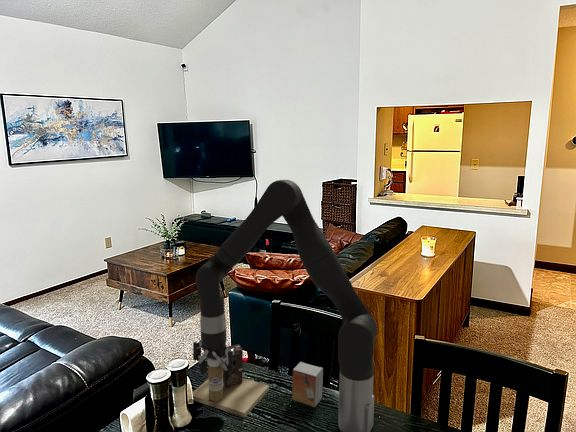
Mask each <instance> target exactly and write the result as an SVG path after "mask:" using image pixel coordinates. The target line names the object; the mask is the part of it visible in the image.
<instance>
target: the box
mask: <svg viewBox="0 0 576 432" xmlns="http://www.w3.org/2000/svg"><path fill="white" fill-rule="evenodd" d="M226 347H227V348H229V349H232V348H235V349H236V360H237V366H236V367H235V368H234V369H232V370H231V378H230V379H229V380H228V381H224V368H223V367H222V371H223V384H224V385H225V387H227V386H231V385H235V384H239V383H242V378H243V364H244V363H243V360H244V359H243V358H244V357H243V355H244V354H243V353H244V350H243V347H241V345H240V344H239V343H238V344H233V345H228V346H226ZM226 354H227V353H226ZM223 359H224V357H223ZM225 363H226V362H225ZM226 365H227V364H226Z"/></svg>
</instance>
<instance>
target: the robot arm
mask: <svg viewBox="0 0 576 432" xmlns="http://www.w3.org/2000/svg"><path fill="white" fill-rule="evenodd" d="M281 217H282V218H283V219H284V221H285V222H286V223H287V225H288V228H289V229H290V230H291V234H292V236H293V239H294V243H295V247H296V250H297V254H298V257H299V258H300V261H301V264H302V265H303V267H304V269H305V272H306V273H307V274H308V277H309V278H310V280H311V281H312V283H313V284H314V286H315V287H317V288H318V289H319V290H320V291H321V292H322V293H323V294H324V295H326V296H327V297H328V298H329V299H330V300H331V302H332V303H333V304H334V306H335V308H336V310H337V311H338V312H339V315H340V317H341V319H342V322H343V324H342V325H341V327H340V328H339V331H338V338H337V339H338V340H337V346H338V347H337V361H338V365H339V383H338V384H339V385H338V390H339V391H338V412H337V413H338V414H337V415H338V418H337V420H338V422H337V427H338V429H339V431H340V432H371V431H372V428H373V427H374V416H375V415H374V414H375V413H374V411H375V395H374V376H375V375H374V374H375V373H374V372H375V364H374V362H373V352H374V350H373V349H374V342H375V340H376V337H377V334H378V325H377V322H376V320H375V317H374V316H373V315H372V313H371V312H370V311H369V309H368V308H367V306H366V305H365V304H364V302H363V300H362V299H361V297H359V295H358V293H357V292H356V290H355V288H354V286H353V284H352V283H351V280H350V278H349V276H348V274H347V273H346V271H345V270H344V268H343V267H344V266H342V264H341V261H340V260H339V258H338V255H337V254H336V253H335V250H334V249H333V247H332V246H331V244H330V242H329V240H327V237H326V235H324V234H325V233H324V232H323V231H322V230H321V228H320V226H319V224H318V223H317V222H316V220H315V219H314V217H313V215H312V212H311V210H310V208H309V206H308V203H307V201H306V199H305V197H304V194H303V191H302V189H301V187H300V185H298V184H297V183H296V182H295V181H293V180H290V179H280V180H275V181H273V182H271V183H269V185H268V186H267V187H266V189H265V191H264V192H263V194H262V195H261V197H260V198H259V200H258V202H257V203H256V204H255V206H254V207H253V208H252V210H251V212H250V213H249V214H248V216H247V217H246V218H245V219H244V220H243V221H242V222H241V223H240V225H239V226H237V228H236V229H235V230H234V231H233V232H232V233H231V234H230V235H229V236H228V237H227V239H226V240H224V242H223V243H222V244H221V245H220V246H219V247H218V249H217V251H216V252H215V253H214V254H213V256H211V257H210V258H209V259H208V260H207V261H206V262H204V264H203V265H201V266H200V268H198V270H197V271H196V274H195V286H196V291H197V294H198V299H199V304H200V305H199V306H200V308H199V310H200V319H199V321H200V322H199V325H200V339H199V338H198V339H197V340H196V341H194V342H193V343H192V344H193V345H192V346H193V347H192V351H193V353H192V360H194V361H197V362H198V363H199V372H200V375H203V376H204V375H205V374H206V373H208V364H207V359H208V358H211V359H214V360H217V361H218V362H219V364H220V365H222V367H223V368H224V381H228V380H229V379H230V378H231V370H232V369H234V368H235V367H236V366H237V360H236V349H235V348H232V349H229V348H227V347H228V346H227V320H226V313H225V298H224V295H223V293H222V292H221V291H220V284H221V282H222V281H223V280H224V279H225V278H226V276H227V275H228V274H229V273H230V272H231V270H232V269H233V268H234V267H235V266H237V264H239V263H240V262H241V260H243V259H244V257H246V255H247V254H248V253H249V252H250V251H252V249H253V247H254V246H255V245H256V243H257V242H258V241H259V239H260V238H261V236H262V235H263V233H265V231H266V230H267V229H268V228H270V226H271V225H272V224H274V223H275V222H276V221H278V219H280V218H281ZM202 350H203V353H202ZM226 353H227V354H226ZM222 357H224V359H223V360H222V359H221V358H222ZM225 362H226V363H225ZM226 364H227V365H226Z"/></svg>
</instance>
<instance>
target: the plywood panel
mask: <svg viewBox="0 0 576 432" xmlns="http://www.w3.org/2000/svg"><path fill="white" fill-rule="evenodd" d="M269 391H270V385H267V384H264V383H261V382H258V381H254V380H251V379H247V378H243V377H242V383H239V384H235V385H231V386H227V387H225V385H224V384H223V398H222V399H221V400H219V401H212V400H210V399H209V381H208V379H206V380H205V381H204V382H203V383H201V385H199V386H198V387H197V388H196V389H195V390H194V391H192V392H193V398H194V400H193V401H194V402H198V403H201V404H203V405H206V406H208V407H209V406H210V407H213V408H216V409H218V410H221V411H225V412H227V413H230V414H233V415H237V416H239V417H241V418H246V417H247V416H248V415H249V414H250V413H251V411H252V410H253V409H254V408H255V406H257V404H258V403H260V401H261V400H262V399H263V398H264V397H265V396H266V394H267V393H268V392H269Z"/></svg>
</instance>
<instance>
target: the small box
mask: <svg viewBox="0 0 576 432" xmlns="http://www.w3.org/2000/svg"><path fill="white" fill-rule="evenodd" d="M323 376H324V368H323V367H321V366H316V365H312V364H310V363H309V364H308V363H305V362H304V361H299V363H297V365H296V366H295V367H294V368H293V369H292V392H291V393H292V394H291V395H292V396H291V397H292V398H291V399H292V401H295V402H299V403H302V404H304V405H307V406H310V407H312V408H316V407H317V406H318V404H319V402H321V400H322V399H323V380H324V379H323V378H324V377H323Z"/></svg>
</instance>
